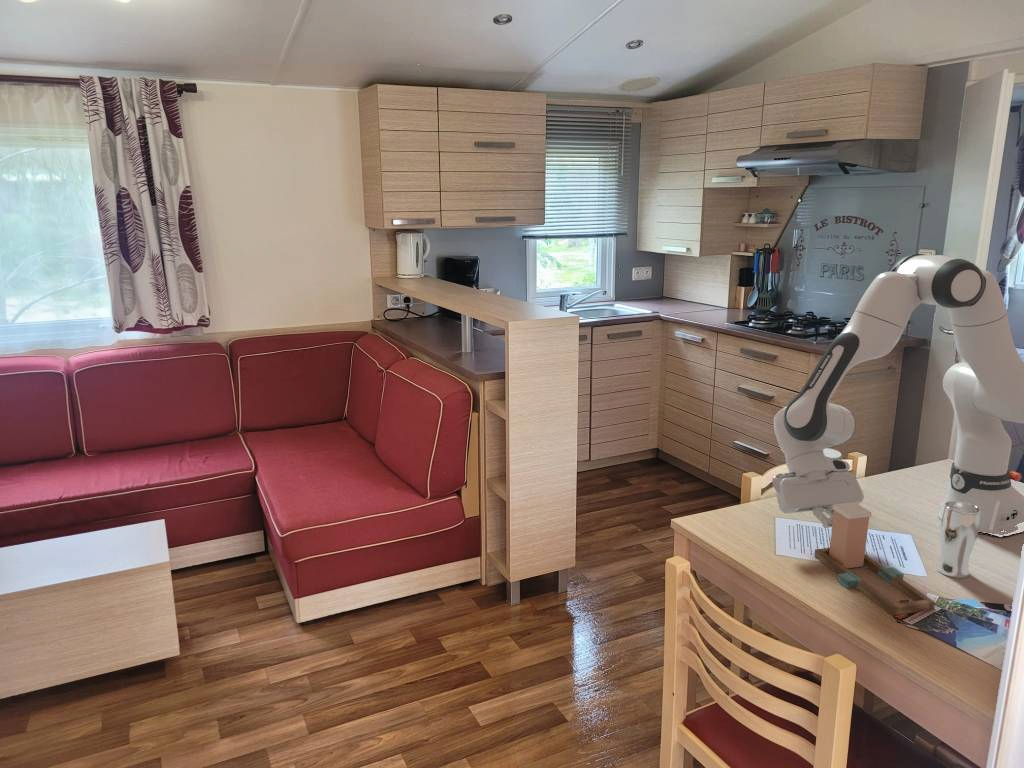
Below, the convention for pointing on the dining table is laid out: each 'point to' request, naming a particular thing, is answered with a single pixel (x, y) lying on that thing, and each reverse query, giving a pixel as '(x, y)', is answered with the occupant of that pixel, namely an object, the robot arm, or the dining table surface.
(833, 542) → the block
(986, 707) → the dining table surface
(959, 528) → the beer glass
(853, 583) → the open rectangular frame
